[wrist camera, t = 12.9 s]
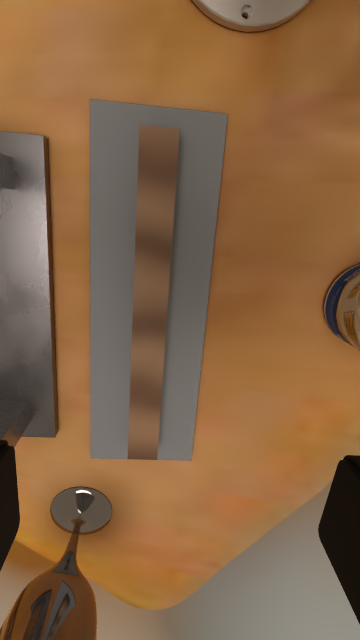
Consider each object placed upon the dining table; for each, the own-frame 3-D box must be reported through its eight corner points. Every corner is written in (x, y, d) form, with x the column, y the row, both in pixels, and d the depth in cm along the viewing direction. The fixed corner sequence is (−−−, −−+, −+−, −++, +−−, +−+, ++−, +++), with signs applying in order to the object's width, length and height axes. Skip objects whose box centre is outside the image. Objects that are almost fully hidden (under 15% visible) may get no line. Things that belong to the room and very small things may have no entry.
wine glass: (32, 513, 39) (-41, 685, 25) (77, 472, 38) (28, 629, 23) (84, 547, 41) (45, 724, 27) (129, 509, 40) (113, 675, 25)
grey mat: (91, 101, 27) (89, 99, 26) (226, 115, 28) (228, 113, 27) (91, 454, 37) (90, 458, 37) (190, 456, 38) (191, 460, 37)
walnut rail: (141, 132, 27) (139, 125, 25) (178, 135, 28) (179, 128, 25) (129, 443, 36) (127, 459, 34) (157, 444, 36) (157, 459, 34)
